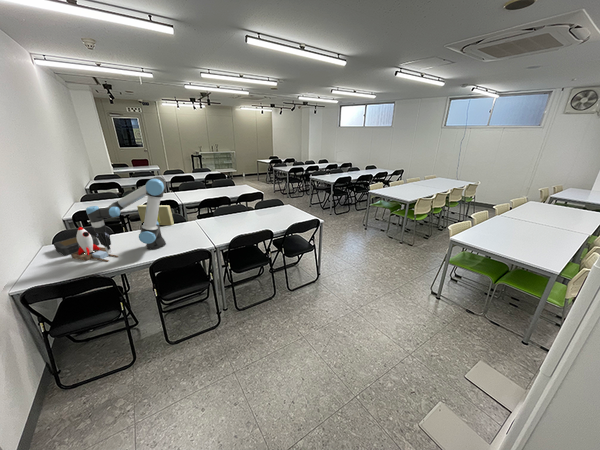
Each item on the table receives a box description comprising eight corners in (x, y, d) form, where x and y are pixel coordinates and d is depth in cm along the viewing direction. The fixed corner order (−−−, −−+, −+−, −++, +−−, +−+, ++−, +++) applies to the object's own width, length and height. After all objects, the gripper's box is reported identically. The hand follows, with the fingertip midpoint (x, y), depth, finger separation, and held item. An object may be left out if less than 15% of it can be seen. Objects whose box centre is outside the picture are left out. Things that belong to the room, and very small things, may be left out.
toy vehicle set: (174, 224, 261) (170, 205, 253) (171, 225, 257) (167, 206, 249) (144, 223, 264) (139, 204, 256) (141, 224, 260) (136, 205, 252)
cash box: (65, 256, 194) (61, 248, 192) (55, 251, 204) (52, 243, 201) (100, 245, 214) (97, 237, 212) (90, 240, 224) (88, 232, 221)
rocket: (89, 258, 191) (77, 230, 181) (78, 257, 193) (67, 229, 183) (102, 251, 201) (92, 225, 192) (92, 250, 203) (81, 224, 194)
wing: (108, 255, 195) (107, 251, 194) (101, 259, 190) (99, 255, 188) (100, 254, 198) (99, 250, 196) (93, 257, 192) (91, 253, 191)
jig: (122, 254, 197) (121, 250, 196) (102, 264, 183) (101, 260, 182) (93, 249, 206) (92, 245, 205) (72, 258, 192) (70, 254, 191)
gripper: (110, 224, 182) (120, 251, 191) (97, 223, 185) (108, 249, 194) (100, 228, 175) (110, 256, 184) (87, 227, 179) (98, 254, 188)
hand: (109, 252), depth 189 cm, fingers closed
